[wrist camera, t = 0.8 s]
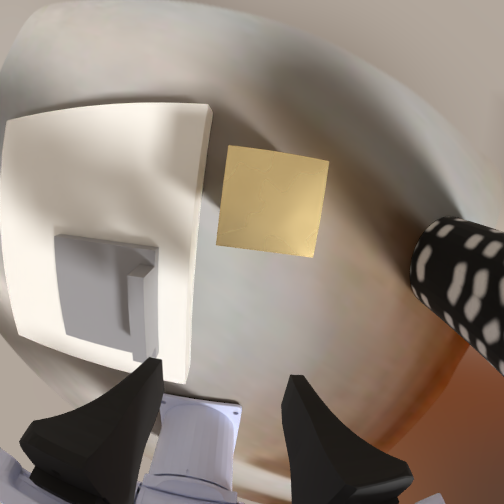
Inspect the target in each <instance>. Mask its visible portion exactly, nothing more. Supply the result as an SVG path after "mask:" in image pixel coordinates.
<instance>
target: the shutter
mask: <svg viewBox="0 0 504 504" xmlns="http://www.w3.org/2000/svg"><path fill="white" fill-rule="evenodd" d="M54 248H55V263H56V273H57V282H58V290H59V298H60V304H61V310H62V316H63V322H64V327H65V332H66V335H69V336H72V337H75V338H78V339H82V340H85V341H88V342H92V343H95V344H99V345H103V346H106V347H110V348H114V349H118V350H122V351H126V352H130V353H132V355H133V361H136V362H140V363H143V362H144V361H145V360H146V359H147V358H149V357H153V358H156V357H157V355H158V353H159V339H158V261H159V247H153V246H146V245H138V244H131V243H123V242H116V241H109V240H101V239H94V238H87V237H80V236H72V235H65V234H58V235H56V236H54Z"/></svg>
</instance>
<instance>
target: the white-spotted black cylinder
mask: <svg viewBox="0 0 504 504" xmlns="http://www.w3.org/2000/svg"><path fill="white" fill-rule="evenodd" d="M410 281H411V286H412V289H413V292H414V294H415V296H416V297H417V298H418V299H419V300H420V301H421V302H422V303H423V304H424V305H425V306H427V307H428V308H429V309H430V310H431V311H433V312H434V313H435V314H436V315H437V316H438V317H440V318H441V319H442V320H443V321H444V322H445V323H447V324H448V325H449V326H450V327H451V328H452V329H453V330H455V331H456V332H457V333H458V334H459V335H460V336H461V337H462V338H464V339H465V340H466V341H467V342H468V343H469V344H470V345H471V346H472V347H473V348H475V349H476V350H477V351H478V352H479V353H480V354H481V355H482V356H483V357H484V358H485V359H486V360H487V361H488V362H489V363H490V364H491V365H492V366H493V367H495V368H496V369H497V370H498V371H499V372H500V373H501V374H502V375H503V376H504V232H502V231H499V230H496V229H493V228H490V227H487V226H483V225H480V224H477V223H474V222H470V221H467V220H464V219H460V218H457V217H451V216H449V217H443V218H441V219H439V220H437V221H435V222H434V223H433V224H431V225H430V226H429V227H428V228H427V229H426V230H425V231H424V233H423V234H422V236H421V237H420V239H419V241H418V243H417V245H416V247H415V250H414V253H413V256H412V260H411V266H410Z"/></svg>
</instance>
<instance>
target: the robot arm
mask: <svg viewBox="0 0 504 504" xmlns="http://www.w3.org/2000/svg"><path fill="white" fill-rule="evenodd" d="M159 409H160V415H161V423H162V428H161V431H160V435H159V438H158V441H157V445H156V448H155V452H154V456H153V459H152V463H151V466H150V470H149V474H145V475H144V479H143V483H142V482H140V481H137V479H138V474H139V469H140V464H141V460H142V456H143V452H144V449H145V446H146V443H147V440H148V437H149V435H150V432H151V430H152V427H153V425H154V422H155V420H156V417H157V414H158V412H159ZM281 409H282V425H283V430H284V436H285V441H286V446H287V451H288V456H289V462H290V471H291V492H292V504H398V503H399V500H398V498H397V496H399V495H400V494H401V493H402V492H403V491H404V490H406V489H407V488H408V487H409V486H410V485H411V483H412V482H413V480H414V478H413V475H412V473H411V470H410V468H409V466H408V464H407V463H406V462H405V461H402V460H400V459H397V458H395V457H393V456H390V455H388V454H386V453H384V452H382V451H381V450H379V449H377V448H375V447H373V446H372V445H370V444H369V443H367V442H366V441H364V440H363V439H361V438H360V437H359V436H357V435H356V434H355V433H353V432H352V431H351V430H350V429H349V428H348V427H346V426H345V425H344V424H343V423H342V422H341V421H340V420H339V419H338V418H337V417H336V416H335V415H334V414H333V413H332V412H331V411H330V409H329V408H328V407H327V406H326V405H325V403H324V402H323V401H322V400H321V399H320V397H319V396H318V395H317V393H316V392H315V391H314V389H313V388H312V387H311V385H310V384H309V382H308V381H307V380H306V378H305V377H304V376H303V375H290V377H289V381H288V384H287V387H286V391H285V394H284V397H283V401H282V404H281ZM241 412H242V407H241V405H238V404H230V403H221V402H213V401H206V400H199V399H192V398H186V397H180V396H175V395H170V394H165V393H164V382H163V365H162V359H157V358H152V357H149V358H147V359H146V360H145V361H144V362H143V363H142V364H141V365H140V366H139V367H138V368H137V369H135V370H134V371H133V372H132V373H131V374H130V375H129V376H127V377H126V378H125V379H124V380H123V381H121V382H120V383H119V384H118V385H116V386H115V387H113V388H112V389H111V390H109V391H108V392H106V393H105V394H103V395H102V396H100V397H99V398H97V399H95V400H94V401H92V402H90V403H88V404H86V405H84V406H82V407H79V408H77V409H75V410H73V411H70V412H67V413H64V414H61V415H58V416H54V417H51V418H46V419H41V420H35V421H33V422H32V423H31V424H30V426H29V427H28V429H27V430H26V432H25V433H24V435H23V436H22V438H21V440H20V441H19V442H20V446H21V448H22V450H23V451H24V452H25V454H26V455H27V456H28V458H29V459H30V460H31V461H32V463H33V464H34V465H35V468H34V469H33V471H32V473H30V472H28V471H27V470H25V469H24V468H22V467H21V465H20V463H19V462H18V461H17V460H16V459H15V458H14V457H12V456H11V455H10V454H8V453H7V452H6V451H4V450H3V449H1V448H0V502H1V503H2V504H245V503H244V502H237V492H233V491H232V473H233V454H234V449H235V443H236V438H237V433H238V428H239V422H240V417H241ZM415 504H445V502H444V500H443V498H442V496H441V494H440V493H437V494H435V495H432V496H430V497H428V498H425V499H423V500H421V501H419V502H417V503H415Z"/></svg>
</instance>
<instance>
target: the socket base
mask: <svg viewBox="0 0 504 504" xmlns="http://www.w3.org/2000/svg"><path fill="white" fill-rule="evenodd" d="M212 118H213V112H212V110H211V108H210V107H209V105H208V104H196V103H122V104H106V105H95V106H85V107H77V108H69V109H62V110H56V111H50V112H44V113H39V114H34V115H29V116H24V117H20V118H15V119H11V120H7V123H6V129H5V136H4V143H3V151H2V162H1V176H0V228H1V242H2V252H3V261H4V268H5V275H6V281H7V287H8V292H9V297H10V302H11V307H12V311H13V315H14V319H15V323H16V327H17V331H18V334H19V335H20V336H23V337H25V338H27V339H30V340H32V341H34V342H37V343H39V344H42V345H44V346H47V347H49V348H52V349H55V350H57V351H60V352H63V353H66V354H68V355H71V356H74V357H77V358H80V359H83V360H86V361H89V362H93V363H96V364H99V365H103V366H106V367H110V368H113V369H117V370H121V371H125V372H129V373H132V372H133V371H134V370H135V369H137V368H138V367H139V366H140V365H141V364H142V363H140V362H136V361H133V355H132V353H130V352H126V351H122V350H118V349H114V348H110V347H106V346H103V345H99V344H95V343H92V342H88V341H85V340H82V339H78V338H75V337H72V336H69V335H66V332H65V327H64V322H63V316H62V310H61V304H60V298H59V290H58V282H57V273H56V263H55V248H54V236H56V235H58V234H65V235H72V236H80V237H87V238H94V239H101V240H109V241H116V242H123V243H131V244H138V245H146V246H153V247H159V261H158V339H159V353H158V355H157V357H156V358H157V359H162V365H163V380H164V381H170V382H175V383H181V384H185V383H186V380H187V376H188V372H189V369H190V356H191V327H192V307H193V290H194V275H195V262H196V249H197V238H198V227H199V217H200V208H201V199H202V190H203V182H204V174H205V166H206V158H207V151H208V144H209V137H210V130H211V124H212ZM152 358H153V357H152Z"/></svg>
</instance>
